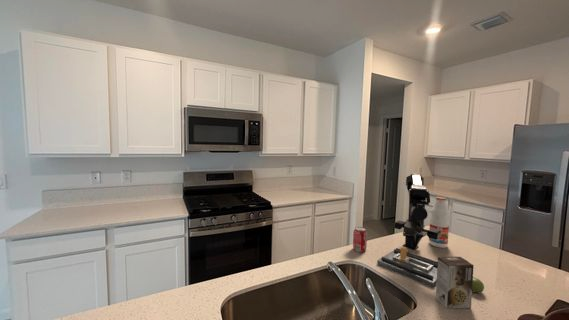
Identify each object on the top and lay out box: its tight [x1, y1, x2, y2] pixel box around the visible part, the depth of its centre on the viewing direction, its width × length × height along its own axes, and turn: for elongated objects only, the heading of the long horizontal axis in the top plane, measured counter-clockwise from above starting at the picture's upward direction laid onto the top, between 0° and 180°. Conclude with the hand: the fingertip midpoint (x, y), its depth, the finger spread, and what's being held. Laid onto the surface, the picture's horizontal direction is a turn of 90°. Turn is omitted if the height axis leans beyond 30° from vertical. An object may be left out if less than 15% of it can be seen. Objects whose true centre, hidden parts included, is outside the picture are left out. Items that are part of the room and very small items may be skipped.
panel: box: [376, 249, 437, 288], centre depth 112 cm, size 20×24×3 cm
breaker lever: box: [398, 246, 409, 261], centre depth 115 cm, size 3×4×6 cm
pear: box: [472, 276, 485, 294], centre depth 97 cm, size 6×5×10 cm
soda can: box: [352, 226, 368, 253], centre depth 129 cm, size 7×7×12 cm
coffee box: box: [435, 256, 474, 309], centre depth 87 cm, size 9×6×16 cm
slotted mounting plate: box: [380, 247, 438, 280], centre depth 112 cm, size 22×17×1 cm
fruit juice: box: [428, 196, 450, 249], centre depth 138 cm, size 9×9×28 cm
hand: (415, 247), depth 111 cm, fingers closed
